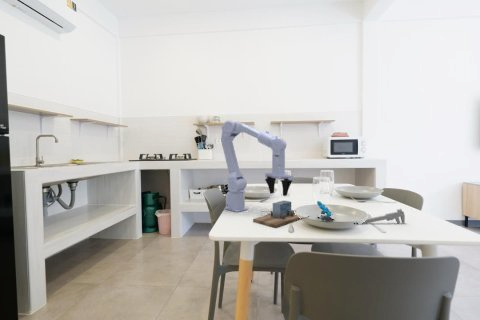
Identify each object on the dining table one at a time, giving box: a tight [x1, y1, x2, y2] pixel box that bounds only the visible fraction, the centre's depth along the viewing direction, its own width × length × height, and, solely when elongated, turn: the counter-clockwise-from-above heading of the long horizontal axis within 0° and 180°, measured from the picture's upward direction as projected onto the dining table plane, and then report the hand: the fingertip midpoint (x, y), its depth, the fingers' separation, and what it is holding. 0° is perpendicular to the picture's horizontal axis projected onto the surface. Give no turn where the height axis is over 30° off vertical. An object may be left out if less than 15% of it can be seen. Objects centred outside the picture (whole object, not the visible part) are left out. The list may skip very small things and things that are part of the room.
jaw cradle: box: [252, 209, 301, 229], centre depth 114 cm, size 12×24×3 cm, turn 134°
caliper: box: [361, 208, 406, 225], centre depth 106 cm, size 20×1×6 cm, turn 91°
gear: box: [316, 200, 332, 218], centre depth 114 cm, size 11×6×10 cm
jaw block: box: [272, 200, 292, 219], centre depth 113 cm, size 4×8×6 cm, turn 134°
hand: (278, 194), depth 121 cm, fingers open, 7 cm apart
